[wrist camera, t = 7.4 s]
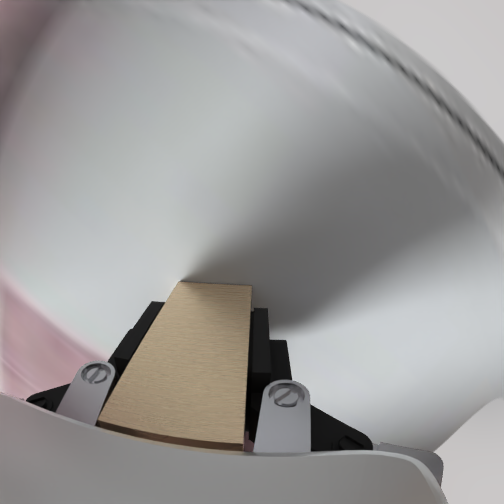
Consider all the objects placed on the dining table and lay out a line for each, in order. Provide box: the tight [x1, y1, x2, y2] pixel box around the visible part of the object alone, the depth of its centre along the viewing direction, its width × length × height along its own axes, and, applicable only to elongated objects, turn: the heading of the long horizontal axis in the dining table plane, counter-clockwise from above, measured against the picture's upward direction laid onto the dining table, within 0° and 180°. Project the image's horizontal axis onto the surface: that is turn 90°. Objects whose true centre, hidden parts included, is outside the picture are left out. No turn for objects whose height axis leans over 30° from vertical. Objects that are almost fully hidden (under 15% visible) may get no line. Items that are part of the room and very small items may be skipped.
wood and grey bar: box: [97, 282, 252, 452], centre depth 12 cm, size 24×3×8 cm, turn 178°
